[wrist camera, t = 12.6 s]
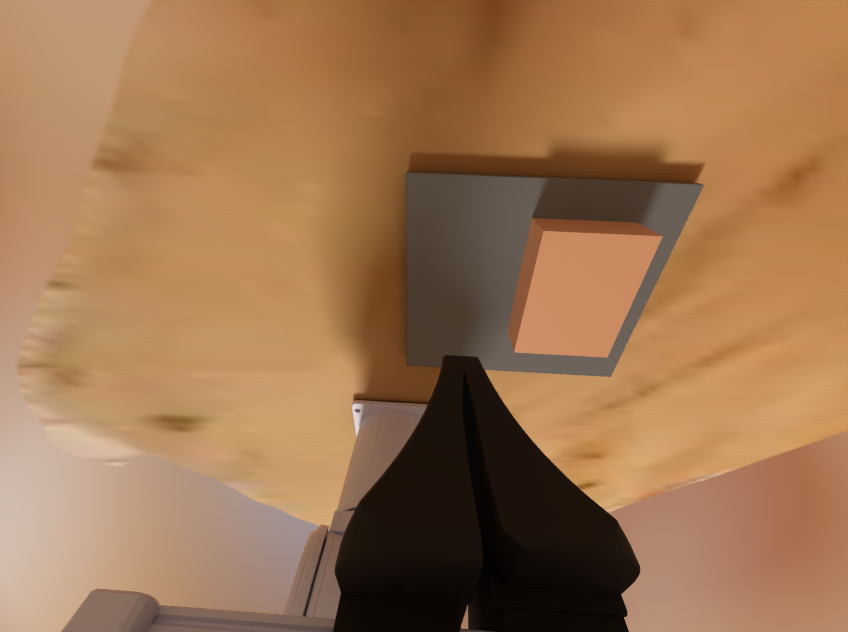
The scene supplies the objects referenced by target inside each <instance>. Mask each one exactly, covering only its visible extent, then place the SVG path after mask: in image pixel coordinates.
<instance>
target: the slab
mask: <svg viewBox="0 0 848 632" xmlns="http://www.w3.org/2000/svg"><path fill="white" fill-rule="evenodd" d="M662 237H663V236H661V235H659V234H658V233H656V232H654V231H652V230H650V229H648V228H646V227H644V226H642V225H640V224H639V223H637V222H614V221H591V220H569V219H546V218H531V223H530V228H529V232H528V237H527V241H526V246H525V251H524V255H523V260H522V265H521V269H520V274H519V278H518V283H517V288H516V292H515V297H514V302H513V306H512V311H511V315H510V320H509V325H508V329H507V331H508V334H509V338H510V341H511V344H512V347H513V350H514V352H515V353H533V354H551V355H569V356H588V357H606V358H607V357H608V355H609V353H610V351H611V348H612V346H613V344H614V342H615V340H616V338H617V335H618V333H619V331H620V329H621V327H622V324H623V322H624V320H625V318H626V316H627V314H628V311H629V309H630V307H631V305H632V303H633V300H634V298H635V296H636V294H637V292H638V290H639V287H640V285H641V283H642V281H643V279H644V276H645V274H646V272H647V270H648V268H649V266H650V263H651V261H652V259H653V257H654V255H655V252H656V250H657V248H658V246H659V244H660V242H661V239H662Z"/></svg>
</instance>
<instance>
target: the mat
mask: <svg viewBox="0 0 848 632" xmlns="http://www.w3.org/2000/svg"><path fill="white" fill-rule="evenodd" d="M703 186H704V185H702V184H698V183H684V182H660V181H635V180H610V179H585V178H560V177H535V176H510V175H485V174H460V173H435V172H410V171H407V173H406V201H407V365H411V366H428V367H442V359H443V357H444V356H445V355H456V356H474V357H478V358H479V359H480V362H481V364H482V366H483V368H484V370H499V371H517V372H535V373H552V374H570V375H588V376H605V377H611V375H612V373H613V371H614V369H615V367H616V365H617V363H618V361H619V358H620V356H621V354H622V352H623V350H624V348H625V346H626V344H627V342H628V340H629V338H630V336H631V334H632V332H633V330H634V328H635V326H636V324H637V321H638V319H639V317H640V315H641V313H642V311H643V309H644V307H645V305H646V303H647V301H648V299H649V297H650V295H651V293H652V291H653V289H654V287H655V285H656V282H657V280H658V278H659V276H660V274H661V272H662V270H663V268H664V266H665V264H666V262H667V260H668V258H669V256H670V254H671V252H672V250H673V248H674V246H675V243H676V241H677V239H678V237H679V235H680V233H681V231H682V229H683V227H684V225H685V223H686V221H687V219H688V217H689V215H690V213H691V211H692V209H693V207H694V204H695V202H696V200H697V198H698V196H699V194H700V192H701V190H702V188H703ZM531 218H546V219H569V220H591V221H614V222H637V223H639V224H640V225H642V226H644V227H646V228H648V229H650V230H652V231H654V232H656V233H658V234H659V235H661V236H663V237H662V239H661V242H660V244H659V246H658V248H657V250H656V252H655V255H654V257H653V259H652V261H651V263H650V266H649V268H648V270H647V272H646V274H645V276H644V279H643V281H642V283H641V285H640V287H639V290H638V292H637V294H636V296H635V298H634V300H633V303H632V305H631V307H630V309H629V311H628V314H627V316H626V318H625V320H624V322H623V324H622V327H621V329H620V331H619V333H618V335H617V338H616V340H615V342H614V344H613V346H612V348H611V351H610V353H609V355H608V357H607V358H606V357H588V356H569V355H551V354H533V353H515V352H514V350H513V347H512V344H511V341H510V338H509V334H508V331H507V329H508V325H509V320H510V315H511V311H512V306H513V302H514V297H515V292H516V288H517V283H518V278H519V274H520V269H521V265H522V260H523V255H524V251H525V246H526V241H527V237H528V232H529V228H530V223H531Z"/></svg>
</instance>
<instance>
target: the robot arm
mask: <svg viewBox="0 0 848 632" xmlns="http://www.w3.org/2000/svg"><path fill="white" fill-rule="evenodd" d="M352 412H353V419H354V426H355V433H356V441H355V445H354V449H353V452H352V456H351V460H350V463H349V467H348V471H347V475H346V478H345V482H344V486H343V489H342V493H341V497H340V501H339V504H338V508H337V510H336V511H335V512H334V516H333V520H332V523H331V527H330V531H328V527H329V526H327V525H320V526H319V528H318V529H317V530H315V531H314V532H312V533H311V534H310V536H309V538H308V540H307V543H306V546H305V548H304V551H303V554H302V557H301V560H300V563H299V566H298V569H297V572H296V575H295V578H294V582H293V585H292V588H291V591H290V595H289V598H288V602H287V605H286V609H285V613H284V615H279V614H267V613H254V612H241V611H228V610H215V609H203V608H190V607H177V606H165V605H164V606H163V605H160V604H159V602H158V601H157V600H156V599H155V598H154V597H152V596H150V595H147V594H144V593H140V592H132V591H120V590H119V591H118V590H107V589H96V590H93V591H92V592H90V594H89V595H88V597H87V598H86V599H85V601H84V602H83V603H82V605H81V606H80V607H79V609H78V610H77V611H76V613H75V614H74V615H73V617H72V618H71V620H70V621H69V622H68V624H67V625H66V626H65V627H64V629H63V630H62V631H61V632H629V631H628V628H627V625H626V622H625V620H624V617H626V616H627V609H626V606H625V604H624V601H623V599H622V596H621V594H622V593H623V592H624V591H625V590H626V589H627V588H628V587H629V586H631V585H632V584H633V583H634V582H635V580H636V579H637V577H638V576H639V574H640V565H639V563H638V561H637V559H636V556H635V554H634V552H633V550H632V547H631V545H630V543H629V542H628V540H627V538H626V536H625V534H624V532H623V530H622V529H621V527H620V525H619V523H618V521H617V520H616V519H615V518H614V517H612V516H611V515H610V514H609V513H608V512H606V511H605V510H604V509H603V508H602V507H600V506H599V505H598V504H597V503H595V502H594V501H593V500H592V499H591V498H589V497H588V496H587V495H586V494H585V493H583V492H582V491H581V490H580V489H579V488H578V487H577V486H576V485H575V484H574V483H573V482H571V481H570V480H569V479H568V478H567V477H566V476H565V475H564V474H563V473H562V472H561V471H560V470H559V469H558V468H557V467H556V466H555V465H554V464H553V463H552V462H551V461H550V460H549V459H548V458H547V457H546V456H545V455H544V453H543V452H542V451H541V450H540V449H539V448H538V447H537V446H536V444H535V443H534V442H533V441H532V440H531V439H530V437H529V436H528V435H527V434H526V433H525V431H524V430H523V429H522V428H521V426H520V425H519V424H518V422H517V421H516V420H515V418H514V417H513V416H512V414H511V413H510V411H509V410H508V409H507V407H506V406H505V404H504V403H503V401H502V399H501V398H500V396H499V395H498V393H497V391H496V390H495V388H494V387H493V385H492V383H491V381H490V379H489V378H488V376H487V374H486V372H485V370H484V368H483V366H482V364H481V362H480V359H479V358H478V357H474V356H456V355H445V356H444V357H443V359H442V368H441V372H440V375H439V378H438V381H437V384H436V387H435V389H434V392H433V394H432V397H431V399H430V401H429V403H428V404H414V403H397V402H380V401H364V400H355V401H353V403H352ZM467 605H468V629H461V624H462V621H463V617H464V614H465V611H466V608H467Z"/></svg>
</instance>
